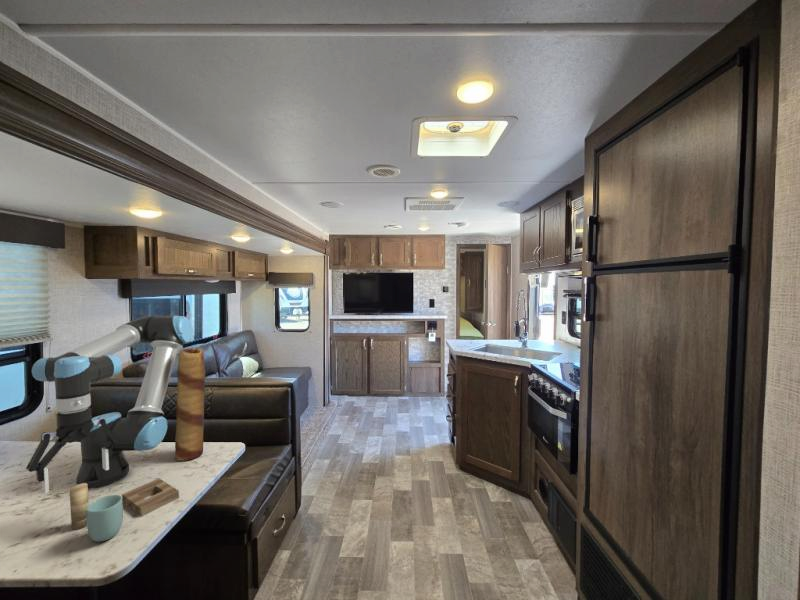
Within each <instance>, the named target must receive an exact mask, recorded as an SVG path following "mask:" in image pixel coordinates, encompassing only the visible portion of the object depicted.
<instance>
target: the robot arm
mask: <svg viewBox="0 0 800 600" xmlns="http://www.w3.org/2000/svg"><path fill="white" fill-rule="evenodd" d="M193 333H194V331H193V326H192V323H191V320H190V319H189V318H188V317H187V316H184V315H183V316H181V315H165V316H164V315H148V316H143V317H139V318H137V319H133V320H131V321H129V322H126V323H123V324H122V325H119V326H118V327H117V328H116V329H115V330H114V331H112V332H110V333H108V334H105V335H104V336H101V337H99V338H97V339H94V340H92V341H90V342H88V343H85V344H84V345H81V346H78V347H76V348H74V349H73V350H70V351H68V352H66V353H63V354H61V355H59V356H56V357H53V356H49V357H43V358H39V359H38V360H37V361H35V362H34V363H33V365H32V367H31V375H32V377H33V379H35V380H36V381H39V382H47V383H52V382H53V383H54V388H55V411H56V412H57V413H56V430H55V431H51V432H47V431H45V432H42V433H41V436H40V438H41V439H40V442H39V444H38V446H37V447H36V449H35V451H34V452H33V455H32V456H31V458H30V460H29V462H28V464H27V465H26V470H27V471H28V472H29V473H31V472H35V473H36V480H37V482H38V483H41V484H42V486H41V487H42V491H43V493H45V494H46V493H49V492H50V482H49V469H48V468H47V466H48V465H49V464H50V463H51V461H52V460H53V459H54V458H55V456H56V455H57V454H58V453H59V451H61V449H62V448H64V446H66V444H67V443H69V444H71V443H74V442H76V441H80V453H81V465H80V467H79V470H78V473H77V476H76V478H75V480H76V481H75V482H76V485H78V484H82V483H87V484H88V490H89V489H97V488H101V487H102V488H103V487H105V486H108V485H111V484H113V483H116V482H117V481H119V480H121V479H123V478H124V477H126V476H127V475H128V474H129V473H130V464H129V463H130V462H128V459H127V457H126V456H125V454H124V452H130V451H131V452H133V451H134V452H136V451H137V452H143V451H149V450H151V451H152V449H153V450H154V449H155V448H157V446H159V445H160V444H161V442H162V441H163V440H164V438H165V436H166V434H167V431H168V426H169V425H168V420H167V419H166V417H164V415H165V413H164V411H163V410H162V407H163V403H164V399H165V397H166V394H167V393H166V392H167V389H168V385H169V382H170V379H171V375H172V372H173V368H174V365H175V361H176V358H177V354H178V352H180V351H181V350H183V349H184V345H185V344H188V343H190V341H192V338H193V336H194V335H193ZM140 344H150V345H151V347H152V348H153V349H152V352H151V355H150V357H149V358H150V359H149V361H148V365H147V367H146V371H145V374H144V377H143V380H142V383H141V387H140V389H139V393H138V396H137V398H136V401H135V405H134V406H133V408H131V409H130V410H128V411H127V414H126V417H122V413H120V412H119V411H115V412H114V411H113V412H109V413H104V414H101V415H97V416H94V417H93V416H92V415H93V414H92V407H90V406H91V405H92V399H91V398H92V397H91V385H93V384H95V383H98V382H102V381H105V380H108V379H111V378H112V377H114V376H117V375H118V374H119V373H120V372H121V371H122V370H123V369H122V367H123V363H122V360H121V359H120V357H119V356H118V355H115V354H116V353H118V352H120V351H122V350H124V349H125V348H133V347H135V346H137V345H140ZM54 437H58V438H57V440H55V442H54V444H53V445H52V447H51V448H50V449H49V450H48V451H47V452H46V450H47V447H48V446H49V444H50V441H52V440H53V439H54ZM45 452H46V454H45V455H44V453H45Z"/></svg>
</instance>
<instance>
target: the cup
mask: <svg viewBox="0 0 800 600" xmlns="http://www.w3.org/2000/svg"><path fill="white" fill-rule="evenodd" d="M86 516H87V526H86V527H87V533H88V537H89V539H90V540H91V541H94V542H97V543H98V542H99V543H101V542H104V541H105V542H106V541H108V540H110V539H113V538H114V537H115V536H116V535H117V534H118V533H120V530H121V528H122V525H123V522H124V521H123V520H124V502H123V501H122V495H119V494H112V495H111V494H110V495H105V496H103V497H100V498H97V499H96V500H94V501H93V502H91V503H90V504H89V506H88V507H87V510H86Z"/></svg>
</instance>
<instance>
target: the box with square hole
mask: <svg viewBox="0 0 800 600" xmlns="http://www.w3.org/2000/svg"><path fill="white" fill-rule="evenodd" d="M121 497H122V501H123V504H125V505H126V504H127V505H126V506H128V507H129V508H130V507H131V508H130V509H131V510H133V511H134V512H135V511H136V513H137V514H138V515H139V514H140V515H139V516H140V517H144V516H145V515H148V514H149V513H151V512H153V511H155V510H157V509H159V508H161V507H163V506H165V505H167V504H169V503H171V502H173V501H175V500H177V499H179V498H180V490H179V489H177V488H176V487H174V486H172V485H171V484H169V483H167V482H166V481H164V480H163V479H161V478H156V479H154V480H151V481H149V482H146V483H144V484H143V485H140V486H138V487H136V488H133V489H131V490H128V491H126V492H124V493H122V494H121Z"/></svg>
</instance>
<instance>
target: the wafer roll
mask: <svg viewBox="0 0 800 600" xmlns="http://www.w3.org/2000/svg"><path fill="white" fill-rule="evenodd" d="M204 359H205V356H204V351H203V349H202V348H199V347H198V348H195V347H194V348H193V347H190V348H182V350H180V351H179V354H178V363H177V393H176V424H175V425H176V426H175V427H176V429H175V439H174V448H175V449H174V451H175V456H174V457H175V459H176V460H178V461H180V462H181V461H190V460H193V459H196V458H198V457H200V456H201V455H203V454H204V453H203V452H204V429H205V427H204V426H205V425H204V424H205V413H204V412H205V394H206V393H205V391H206V369H205V366H206V365H205V364H206V363H205V360H204Z"/></svg>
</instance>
